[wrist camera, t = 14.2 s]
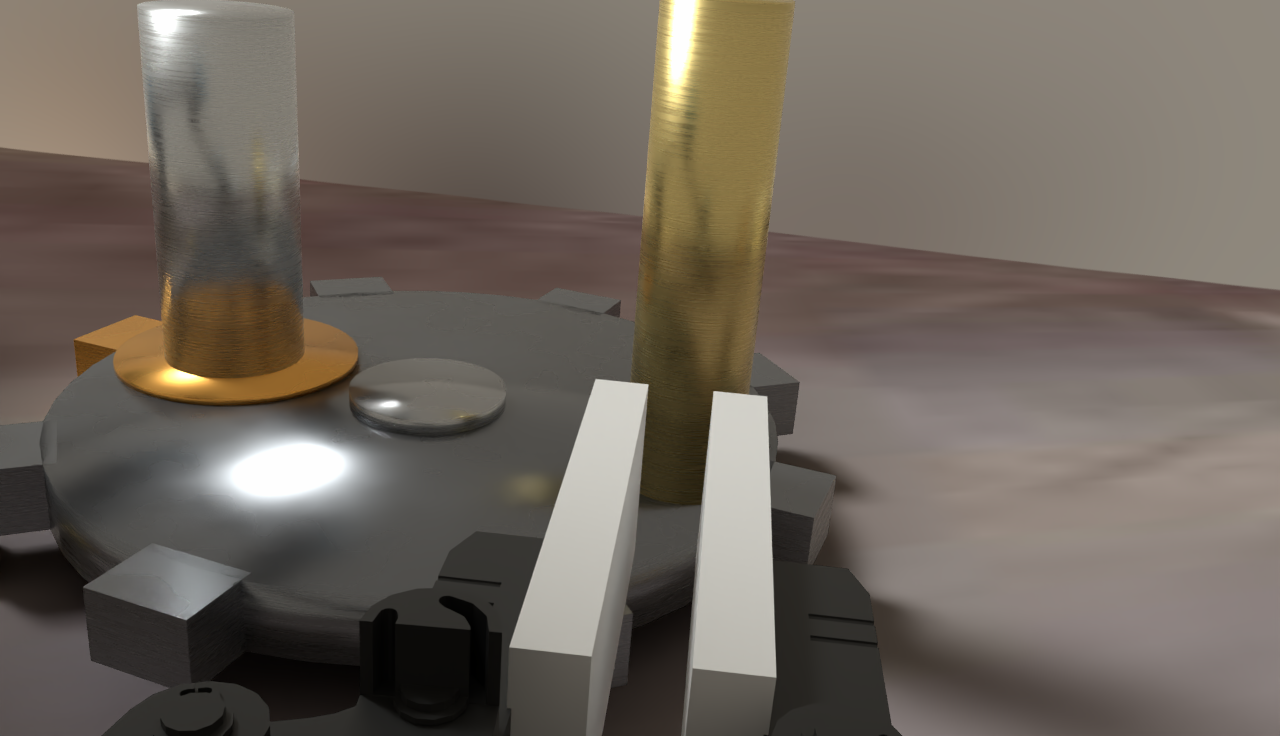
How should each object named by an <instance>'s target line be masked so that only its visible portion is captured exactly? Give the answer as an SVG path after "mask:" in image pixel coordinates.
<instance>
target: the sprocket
mask: <svg viewBox="0 0 1280 736" xmlns="http://www.w3.org/2000/svg"><path fill="white" fill-rule="evenodd" d="M794 8H795V1H793V0H660V5H659V18H658V30H657V43H656V56H655V69H654V82H653V95H652V108H651V121H650V134H649V147H648V160H647V173H646V186H645V198H644V211H643V224H642V237H641V250H640V263H639V276H638V289H637V302H636V315H635V322H632V321H629V320H625V319H622V318H620V304H621V300H617V299H612V298H607V297H601V296H596V295H591V294H586V293H581V292H576V291H571V290H565V289H560V288H555V289H554V290H552V291H550V292H549V293H547V294H546V295H544V296H543V297H541V298H539V299H538V300H532V299H524V298H516V297H509V296H500V295H488V294H476V293H462V292H438V291H392V290H391V289H390V287H389V286H388V285H387V283H386V282H385V281H384V279H383V278H382V277H372V278H354V279H337V280H320V281H310V296H311V297H305V298H303V316H304V348H305V351H304V355H303V357H302V358H301V359H300V360H299V361H298V362H297V363H295V364H293V365H292V366H290V367H288V368H285V369H283V370H280V371H277V372H273V373H270V374H265V375H260V376H254V377H245V378H210V377H202V376H196V375H191V374H187V373H184V372H181V371H179V370H176V369H175V368H173V367H171V366H170V365H169V364H168V363H167V362H166V360H165V356H164V343H163V330H162V321H158V320H154V319H149V318H145V317H140V316H136V315H135V316H132V317H130V318H127V319H125V320H122V321H120V322H117V323H114V324H112V325H109V326H107V327H104V328H102V329H99V330H97V331H94V332H91V333H89V334H86V335H84V336H81V337H79V338H76V339H74V347H75V356H76V365H77V375H78V377H77V378H76V379H75V380H73V381H72V382H71V383H70V384H69V385H68V386H67V387H66V389H65V390H64V391H63V392H62V393H61V394H60V395H59V396H58V398H57V399H56V400H55V401H54V403H53V404H52V406H51V408H50V410H49V412H48V414H47V416H46V417H45V419H44V421H42V422H31V423H21V424H10V425H0V536H2V535H10V534H18V533H25V532H33V531H41V530H49V529H51V532H52V534H53V536H54V538H55V540H56V542H57V544H58V546H59V548H60V550H61V552H62V554H63V555H64V556H65V558H66V559H67V560H68V561H69V562H70V563H71V565H72V566H73V567H74V568H75V569H76V570H77V572H78V573H79V574H80V575H81V576H82V577H83V578H84V579H85V580H87V581H88V582H89V583H88V584H87V585H85V586H84V587H83V595H84V604H85V612H86V621H87V630H88V639H89V648H90V656H91V661H94V662H96V663H99V664H102V665H105V666H108V667H111V668H114V669H117V670H120V671H123V672H126V673H129V674H131V675H134V676H137V677H140V678H143V679H146V680H149V681H152V682H155V683H158V684H161V685H163V686H166V687H169V688H173V687H175V686H178V685H181V684H189V683H198V682H206V681H210V680H211V679H213V678H214V677H215V676H216V675H218V674H219V673H220V672H221V671H222V670H224V669H225V668H226V667H227V666H229V665H230V664H231V663H232V662H233V661H235V660H236V659H237V658H238V657H239V656H241V655H242V654H243V653H244V652H246V651H247V652H252V653H258V654H264V655H270V656H276V657H282V658H288V659H293V660H299V661H307V662H318V663H330V664H342V665H354V666H360V639H359V620H360V619H361V618H362V617H363V615H364V614H365V613H366V612H367V611H368V609H369V608H370V607H371V606H372V605H374V604H376V603H377V602H379V601H381V600H383V599H385V598H387V597H388V596H390V595H392V594H397V593H401V592H405V591H409V590H413V589H417V588H433V586H434V584H435V581H436V580H438V575H439V573H440V570H441V568H442V566H443V564H444V562H445V560H446V557H447V555H448V553H449V551H450V550H451V549H453V548H454V547H455V546H457V545H458V544H460V543H461V542H462V541H464V540H465V539H466V538H468V537H469V536H470V535H472V534H473V533H474V532H476V531H480V532H489V533H498V534H507V535H517V536H526V537H535V538H545V535H546V531H547V528H548V525H549V522H550V519H551V516H552V513H553V510H554V507H555V504H556V500H557V497H558V494H559V491H560V488H561V485H562V482H563V479H564V476H565V472H566V469H567V466H568V463H569V460H570V457H571V454H572V451H573V448H574V445H575V441H576V438H577V435H578V432H579V429H580V426H581V423H582V420H583V417H584V414H585V410H586V407H587V404H588V401H589V398H590V395H591V392H592V389H593V386H594V382H595V379H600V380H610V381H620V382H630V383H639V384H649V386H648V398H647V410H646V422H645V434H644V446H643V458H642V470H641V482H640V494H639V506H638V518H637V530H636V542H635V553H634V558H633V564H632V570H631V575H630V581H629V587H628V592H627V598H626V603H625V609H624V615H623V620H622V626H621V632H620V637H619V643H618V649H617V654H616V660H615V665H614V671H613V677H612V682H611V688H613V687H618V686H622V685H627V677H628V665H629V654H630V642H631V630H632V629H633V628H636V627H639V626H642V625H645V624H647V623H649V622H651V621H654V620H656V619H658V618H660V617H662V616H664V615H666V614H668V613H671V612H673V611H675V610H677V609H679V608H681V607H683V606H685V605H687V604H688V603H690V602H691V601H692V600H693V588H694V576H695V564H696V553H697V544H698V534H699V525H700V515H701V506H702V496H703V487H704V478H705V468H706V459H707V449H708V440H709V430H710V421H711V411H712V402H713V392H714V391H718V392H728V393H738V394H747V395H757V396H767V404H768V435H769V466H770V497H771V528H772V558H773V561H782V562H792V563H801V564H810V565H813V563H814V561H815V559H816V557H817V555H818V553H819V551H820V549H821V547H822V545H823V543H824V541H825V539H826V537H827V535H828V529H829V522H830V515H831V509H832V502H833V496H834V489H835V482H836V476H835V475H831V474H827V473H822V472H818V471H814V470H809V469H805V468H800V467H796V466H792V465H787V464H783V463H779V462H776V454H777V446H778V438H777V436H779V435H787V434H793V428H794V420H795V413H796V405H797V398H798V390H799V383H800V382H799V381H797V380H796V379H795V378H793V377H792V376H790V375H789V374H788V373H786V372H785V371H784V370H782V369H781V368H779V367H778V366H777V365H775V364H774V363H773V362H771V361H770V360H768V359H767V358H766V357H764V356H763V355H762V354H760V353H754V348H755V339H756V331H757V322H758V314H759V305H760V297H761V288H762V280H763V271H764V263H765V254H766V246H767V237H768V228H769V220H770V211H771V203H772V195H773V186H774V178H775V168H776V160H777V152H778V143H779V135H780V126H781V118H782V110H783V101H784V92H785V83H786V75H787V67H788V58H789V50H790V41H791V33H792V24H793V16H794Z"/></svg>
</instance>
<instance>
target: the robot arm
mask: <svg viewBox="0 0 1280 736" xmlns="http://www.w3.org/2000/svg"><path fill="white" fill-rule="evenodd" d="M648 386H649V384H639V383H630V382H620V381H610V380H600V379H595V382H594V386H593V389H592V392H591V395H590V398H589V401H588V404H587V407H586V410H585V414H584V417H583V420H582V423H581V426H580V429H579V432H578V435H577V438H576V441H575V445H574V448H573V451H572V454H571V457H570V460H569V463H568V466H567V469H566V472H565V476H564V479H563V482H562V485H561V488H560V491H559V494H558V497H557V500H556V504H555V507H554V510H553V513H552V516H551V519H550V522H549V525H548V528H547V531H546V535H545V538H535V537H526V536H517V535H507V534H498V533H489V532H480V531H476V532H474V533H473V534H472V535H470V536H469V537H468V538H466V539H465V540H464V541H462V542H461V543H460V544H458V545H457V546H455V547H454V548H453V549H451V550H450V551H449V553H448V555H447V557H446V560H445V562H444V564H443V566H442V568H441V570H440V573H439V575H438V580H436V581H435V584H434V586H433V588H417V589H413V590H409V591H405V592H401V593H397V594H392V595H390V596H388V597H387V598H385V599H383V600H381V601H379V602H377V603H376V604H374V605H372V606H371V607H370V608H369V609H368V611H367V612H366V613H365V614H364V615H363V617H362V618H361V619H360V620H359V639H360V697H359V699H358V701H357V704H356V706H355V707H352V708H349V709H346V710H343V711H340V712H337V713H334V714H329V715H323V716H318V717H312V718H302V719H293V720H283V721H274V722H270V716H269V707H268V706H267V705H266V703H265V702H264V701H263V700H262V698H261V697H260V696H259V695H258V694H257V693H256V692H253V691H251V690H249V689H247V688H244V687H242V686H240V685H238V684H232V683H223V682H214V681H206V682H198V683H189V684H181V685H178V686H175V687H173V688H170V689H167V690H164V691H161V692H158V693H156V694H153V695H151V696H150V697H148V698H147V699H145V700H144V701H142V702H141V703H139V704H138V705H136V706H135V707H133V708H132V709H130V710H129V711H128V712H127V713H126V714H125V715H124V716H123V717H122V718H121V719H119V720H118V721H117V722H116V723H115V724H114V725H113V726H112V727H111V728H110V729H108V730H107V731H106V732H105V733H104V734H103V735H102V736H602V733H603V727H604V722H605V716H606V710H607V705H608V699H609V694H610V688H611V682H612V677H613V671H614V665H615V660H616V654H617V649H618V643H619V637H620V632H621V626H622V620H623V615H624V609H625V603H626V598H627V592H628V587H629V581H630V575H631V570H632V564H633V558H634V553H635V542H636V530H637V518H638V506H639V494H640V482H641V470H642V458H643V446H644V434H645V422H646V410H647V398H648ZM877 643H878V642H877V636H876V630H875V626H874V619H873V613H872V607H871V601H870V595H869V593H868V592H867V591H866V589H865V588H864V587H863V586H862V585H861V584H860V582H859V581H858V580H857V579H856V578H855V576H854V575H853V574H852V573H851V572H850V571H849V569H847V568H837V567H828V566H819V565H810V564H801V563H792V562H782V561H773V558H772V528H771V497H770V466H769V435H768V404H767V396H757V395H747V394H738V393H728V392H718V391H714V392H713V402H712V411H711V421H710V430H709V440H708V449H707V459H706V468H705V478H704V487H703V496H702V506H701V515H700V525H699V534H698V544H697V553H696V564H695V576H694V588H693V600H692V612H691V624H690V636H689V648H688V660H687V672H686V684H685V696H684V708H683V720H682V732H681V736H902V735H901V734H900V733H899V732H898V731H897V730H896V729H895V728H894V727H893V726H892V725H891V719H890V713H889V707H888V701H887V695H886V689H885V683H884V678H883V672H882V666H881V660H880V654H879V648H877Z"/></svg>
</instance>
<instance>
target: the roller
mask: <svg viewBox="0 0 1280 736" xmlns="http://www.w3.org/2000/svg"><path fill="white" fill-rule="evenodd" d="M137 12H138V24H139V37H140V49H141V63H142V74H143V88H144V100H145V113H146V126H147V138H148V151H149V165H150V177H151V190H152V203H153V216H154V228H155V241H156V254H157V267H158V279H159V292H160V305H161V318H162V330H163V343H164V356H165V360H166V362H167V363H168V364H169V365H170V366H171V367H173V368H175V369H176V370H179V371H181V372H184V373H187V374H191V375H196V376H202V377H210V378H245V377H254V376H260V375H265V374H270V373H273V372H277V371H280V370H283V369H285V368H288V367H290V366H292V365H293V364H295V363H297V362H298V361H299V360H300V359H301V358H302V357H303V355H304V351H305V348H304V316H303V284H302V251H301V219H300V187H299V155H298V124H297V90H296V60H295V59H296V58H295V26H294V11H292V10H290V9H288V8H283V7H279V6H273V5H267V4H260V3H250V2H239V1H224V0H161V1H149V2H144V3H140V4H138V5H137Z"/></svg>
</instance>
